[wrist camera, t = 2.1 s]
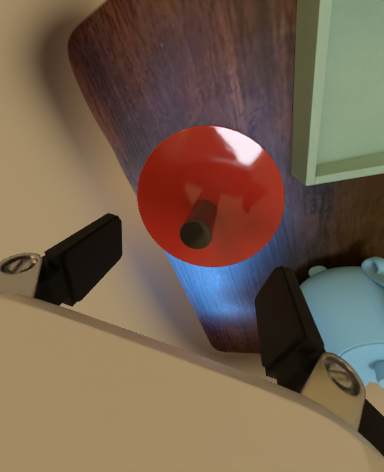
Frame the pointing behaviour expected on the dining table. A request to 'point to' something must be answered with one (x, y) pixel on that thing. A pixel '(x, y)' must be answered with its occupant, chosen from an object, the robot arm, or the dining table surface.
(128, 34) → the dining table surface
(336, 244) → the dining table surface
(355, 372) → the robot arm
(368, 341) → the teapot
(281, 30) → the dining table surface
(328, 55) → the green square tray
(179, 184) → the lid
